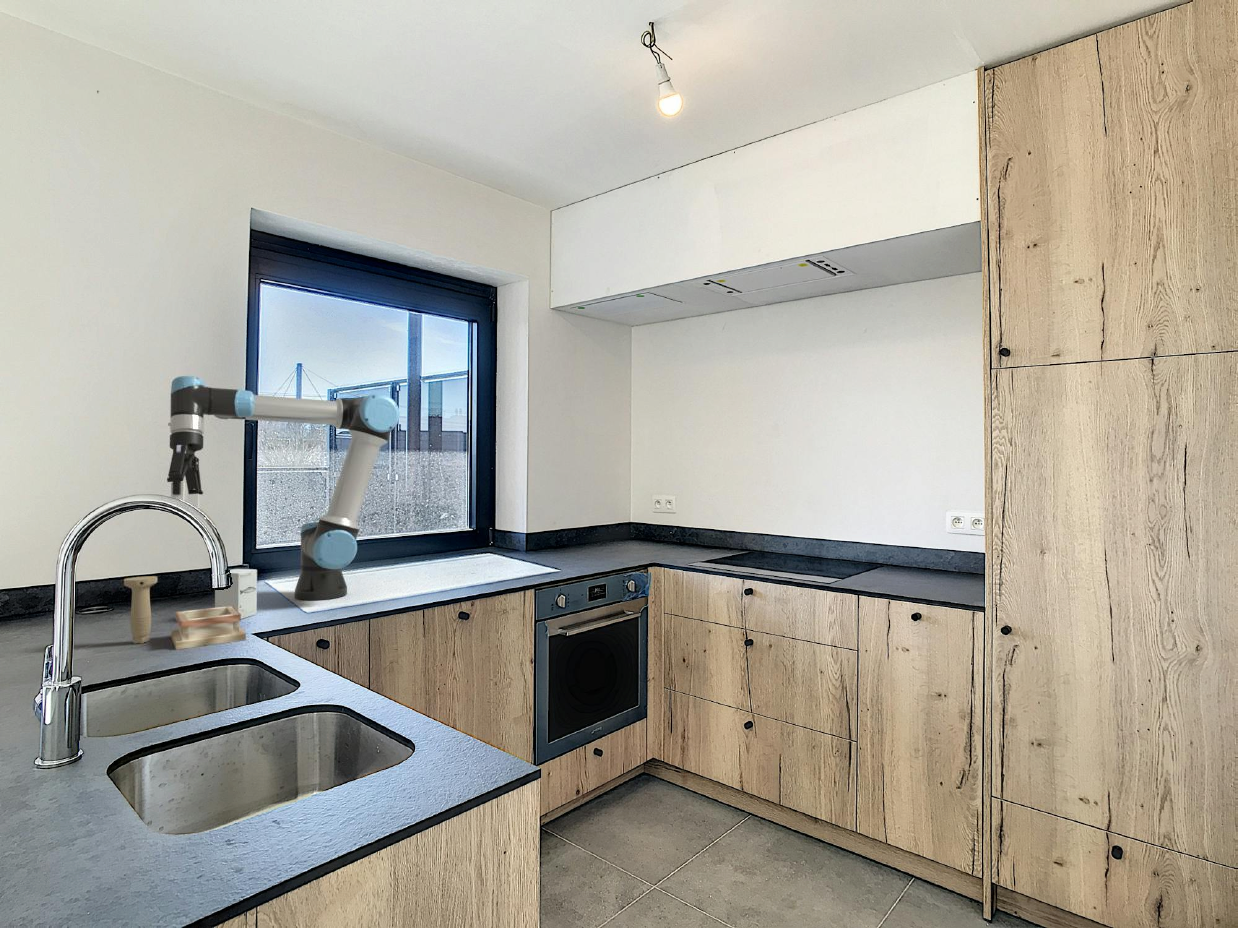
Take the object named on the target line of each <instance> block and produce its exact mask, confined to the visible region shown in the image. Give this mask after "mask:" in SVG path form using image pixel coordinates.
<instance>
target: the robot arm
mask: <svg viewBox="0 0 1238 928" xmlns="http://www.w3.org/2000/svg"><path fill="white" fill-rule="evenodd" d="M205 415H206V416H214V417H216V418H217V419H220V420H249V421H261V422H262V421H264V422H275V423H276V422H279V423H291V424H293V423H294V424H296V423H297V424H310V425H327V426H334V427H335V429H339V430H348V433H349V434H350V437H351V440H350V443H349V446H348V449H347V452H346V455H345V459H344V461H343V465H342V467H341V471H340V473H339V476H338V480H337V482H336V485H335V488H334V492H333V494H332V498H331V501H330V504H329V506H328V509H327V513H326V514H325V515H323V516H321V517H319V520H318V521H317V522H316V521H314V522H307V523H303V524H302V525H301V526H300V533H299V534H300V535H299V536H300V574H299V578H298V580H297V582H296V586H295V589H294V598H295V599H297V600H303V601H304V600H305V601H320V600H321V601H322V600H332V599H338V598H342V597H344V596H346V595H348V586H347V583H346V580H345V578H344V574H343V572H342V569H343V568H345V567H347V566H348V565H349V564H350V563H351V562H352V561H353V560H354V559H355V557H356V555H357V551H358V543H357V538H358V535H359V532H360V527H359V525H358V523H357V521H358V517H359V514H360V512H361V508H362V506H363V502H364V499H365V496H366V493H367V489H368V487H369V483H370V481H371V477H372V473H373V471H374V467H375V465H376V462H377V458H378V456H379V454H380V453H379V452H380V450H381V447H382V446H384V445H386V444H388V441H389V437H390V435H391V432H392V430H393V429H395V427H396V426H397V425H398V423H399V420H400V409H399V406H398V404H397V402H396V401H395V400H394V399H393V398H391V397H390V396H389V395H385V394H382V393H370V394H368V395H365V396H361V397H355V398H340V397H339V398H337V399H336V400H323V399H321V400H320V399H312V398H311V399H309V398H298V397H297V398H296V397H285V396H274V395H259V394H254V393H253V392H252V391H251V390H244V389H239V388H238V389H236V388H235V389H233V388H230V389H229V388H218V387H212V386H211V387H208V386H206V384H205V382H204V380H203V379H201V378H199V377H196V376H195V377H194V376H192V375H191V376H189V375H182V376H177V377H175V378H174V379H173V380H172V382H171V387H170V422H168V423H167V426H169V428H170V429H169V430H170V431H169V432H170V435H169V448H170V449H171V450H172V456H171V460H170V464H169V470H168V474H167V475H168V476H167V478H166V480H167V481H166V482H167V483H170V488H171V489H170V498H171V497H172V498H177V499H181V500H182V501H184V502H185V486H186V487H187V494H186V504H187V503H190V504H192V505H194V506H195V507H197V508H199V509H200V495H204V491H203V490H202V484H201V483H202V482H201V474H200V459H199V457H197V456H196V455H195V453H196V452H199V451H201V450H203V448H204V435H203V434H204V432H205V429H204V428H205V427H204V426H205V424H204V423H205V419H204V416H205ZM184 479H185V481H186V485H185V482H184Z"/></svg>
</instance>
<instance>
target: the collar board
mask: <svg viewBox="0 0 1238 928" xmlns="http://www.w3.org/2000/svg"><path fill="white" fill-rule="evenodd" d="M174 613H175V615H174V616H175V621H176V622H177V629H173V630H172V629H171V630H170V638H171V641H172V643H173V646H174V648H175V650H182V649H183V650H184V649H190V648H191V649H192V648H196V647H197V648H199V647H205V646H204V645H206V646H213V645H219V644H226V643H233V642H241V641H242V642H243V641H247V634H246V632H245V630H243V628H242V627H241V626H240V624H239V623H240V622H241V621H242V619H241V614H240V613H239V612H238V611H237V610H236V609H235V608H234V606H226V607H216V608H215V607H209V608H200V609H189V610H183V611H175V612H174Z"/></svg>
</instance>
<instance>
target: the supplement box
mask: <svg viewBox="0 0 1238 928" xmlns="http://www.w3.org/2000/svg"><path fill="white" fill-rule="evenodd" d="M229 570H230V573H231V577H232V582H233V584H232V585H231V587H230V588H228V589H224V590H215V589H214V608H216V607H226V606H234V608H235V609H236V610H237V611H238V612H239V613H240V614H241V620H242V619H245V618H249V617H252V616H256V615H257V612H258V611H257V609H258V607H257V605H258V593H257V592H258V570H257V569H253V568H249V569H248V568H233V569H229Z"/></svg>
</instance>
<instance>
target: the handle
mask: <svg viewBox="0 0 1238 928" xmlns="http://www.w3.org/2000/svg"><path fill="white" fill-rule="evenodd" d="M157 583H158V576H156V575H152V576H136V577H127V578H124V579H123V585H124V586H125V587H127V588H129V589H131V607H130V623H129V624H130V633H131V638H132V643H133V644H136V645H137V644H139V643H140V645H141V644H144V642H145V643H148V642H149V641H150V634H151V629H152V628H151V627H152V610H151V598H150V596H151V595H150V589H151V587H152V586H154V585H156V584H157Z"/></svg>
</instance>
